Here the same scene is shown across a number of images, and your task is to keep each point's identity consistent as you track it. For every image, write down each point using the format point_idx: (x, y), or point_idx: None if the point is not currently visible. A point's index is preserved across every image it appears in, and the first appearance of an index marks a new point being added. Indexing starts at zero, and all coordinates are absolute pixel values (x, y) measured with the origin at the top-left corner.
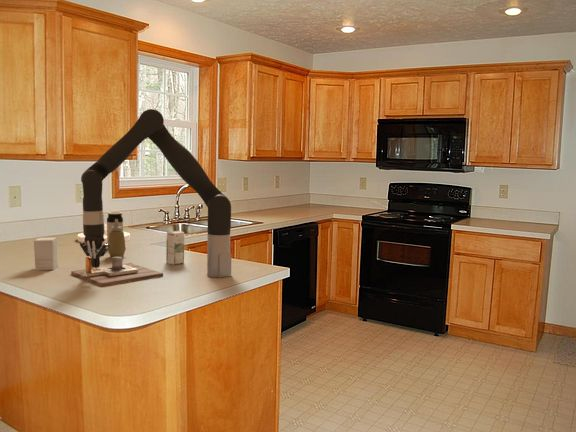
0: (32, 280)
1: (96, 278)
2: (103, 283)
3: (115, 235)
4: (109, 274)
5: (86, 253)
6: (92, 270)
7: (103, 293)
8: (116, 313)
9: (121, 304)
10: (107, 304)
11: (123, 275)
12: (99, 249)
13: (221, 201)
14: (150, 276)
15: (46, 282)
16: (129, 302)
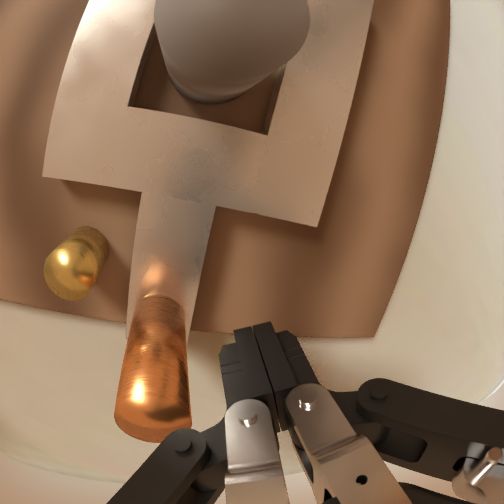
0: (30, 432)
1: (261, 304)
2: (376, 328)
3: None
4: (310, 223)
5: (195, 493)
6: (100, 254)
7: (423, 362)
8: (493, 385)
9: (491, 360)
10: (468, 384)
11: None
12: (364, 471)
13: None
14: (444, 41)
15: (89, 431)
16: (501, 341)
